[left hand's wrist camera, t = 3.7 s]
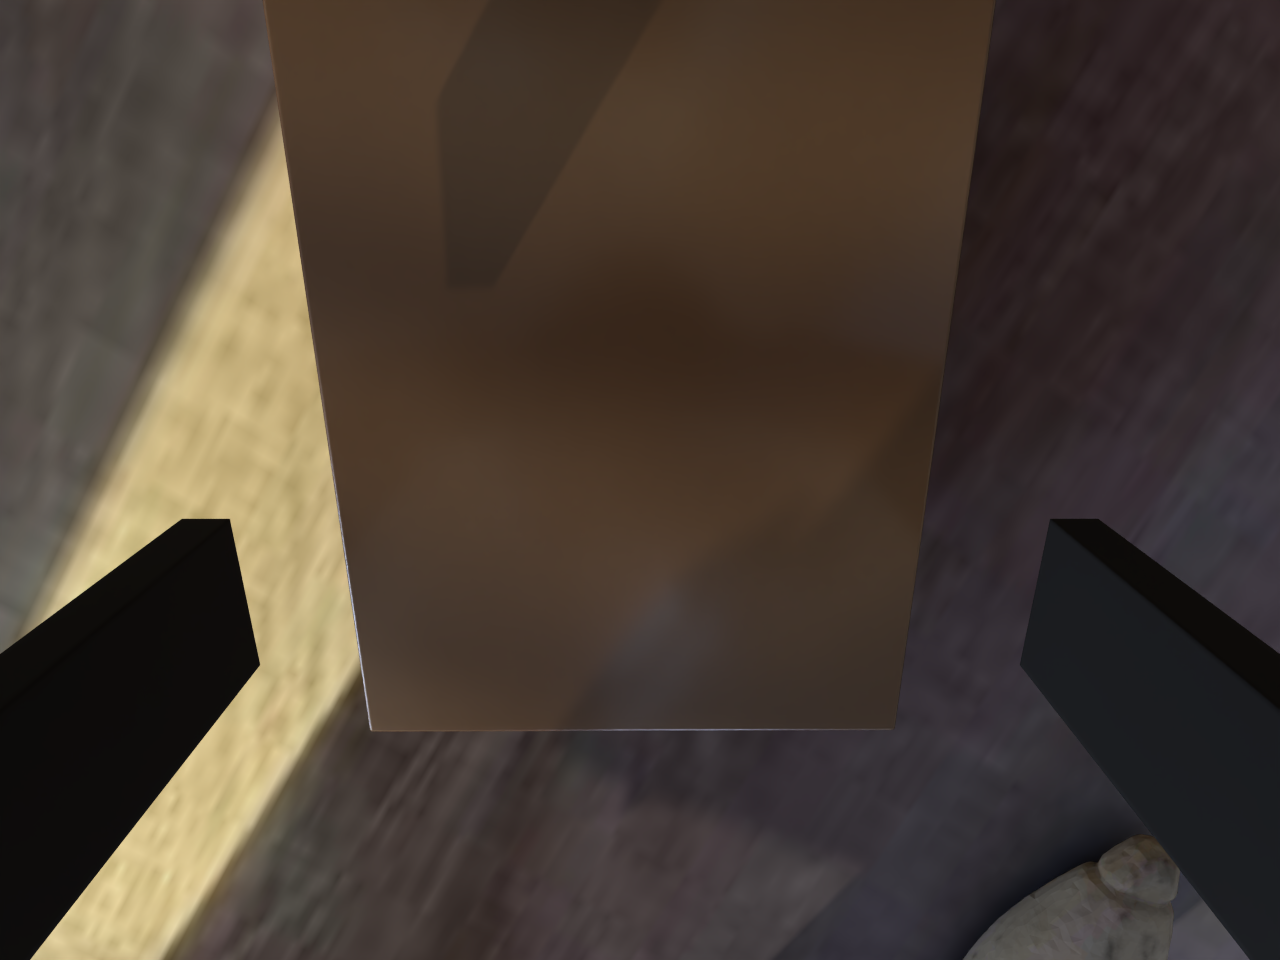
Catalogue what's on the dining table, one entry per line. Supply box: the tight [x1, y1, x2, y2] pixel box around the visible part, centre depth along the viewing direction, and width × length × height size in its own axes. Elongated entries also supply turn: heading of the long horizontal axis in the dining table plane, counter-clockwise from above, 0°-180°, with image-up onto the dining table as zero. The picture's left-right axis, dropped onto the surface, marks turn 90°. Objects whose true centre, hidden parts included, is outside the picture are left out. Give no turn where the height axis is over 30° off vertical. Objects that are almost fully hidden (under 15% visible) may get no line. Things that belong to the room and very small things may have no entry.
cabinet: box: [263, 0, 996, 731], centre depth 17 cm, size 18×11×8 cm, turn 0°
